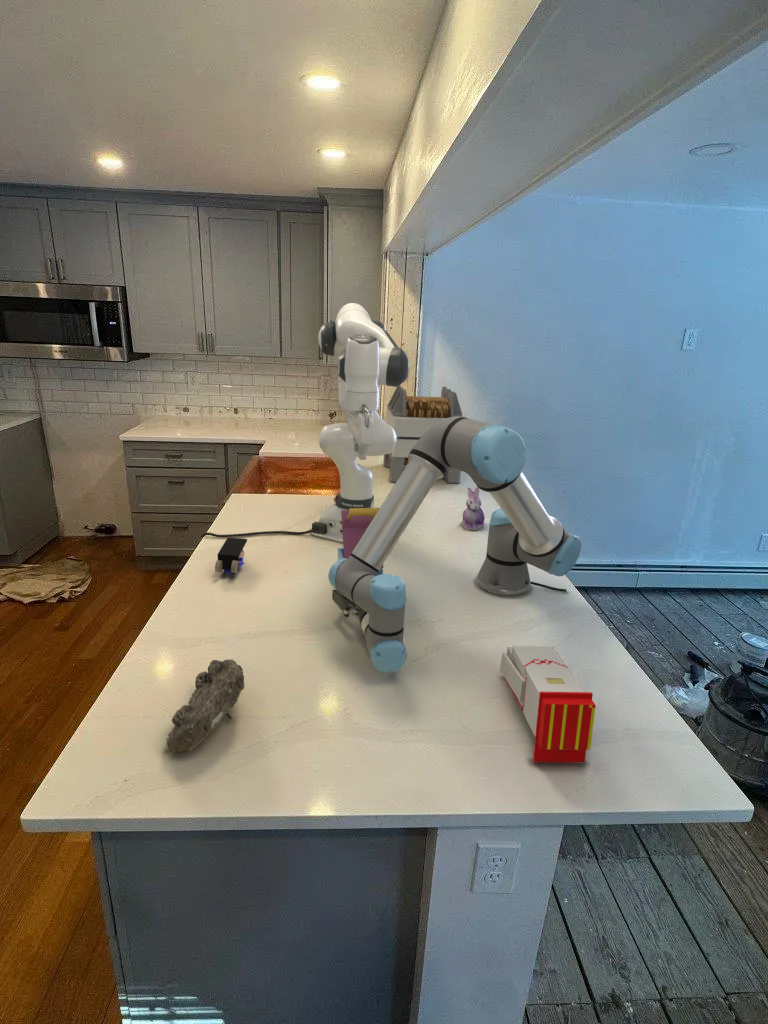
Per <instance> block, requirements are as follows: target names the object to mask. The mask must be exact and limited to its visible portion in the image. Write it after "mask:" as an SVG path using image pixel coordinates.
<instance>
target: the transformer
mask: <svg viewBox="0 0 768 1024" xmlns="http://www.w3.org/2000/svg"><path fill="white" fill-rule="evenodd" d="M440 393H441V394H440V396H415V395H414V396H413V395H412V396H411V395H407V394H408V393H407V390H406V389H404V388H403V387H402V385H399V386H398V387H395V390H394V392H393V394H392V395H391V398H390V400H389V402H388V404H387V405H386V413H385V414H386V415H385V422H386V423H387V424H389V425H390V426H391V427H392V428H393V429H394V431H395V433H396V437H397V442H396V446H395V448H394V450H393V451H392V452H391V453H389V454H385V455H383V466H384V467H388V468H389V475H388V476H389V477H388V478H389V480H390V482H391V483H396V482H397V480H398V479H399V477H400V475H401V474H402V472H403V471H404V469H405V466H407V464H408V463H409V460H408V454H409V453H410V451H411V450H412V448H413V447H414V445H415V444H416V443H417V441H418V440H419V439H420V438H421V436H422V435H423V434H424V433H425V432H426V431H427V430H429V429H430V428H431V427H432V426H434V425H435V424H436V423H438V422H440V421H442V420H444V419H446V418H449V417H455V416H460V417H463V411H462V408H461V405H460V402H459V398H458V395H457V392H455V391H453V390H452V389H451V388H447V386H442V387H441V392H440ZM461 472H462V471H460V470H457V469H454V468H450V469H448V470H447V471H446V473H445V475H444V476H443V478H444V479H445V481H446V482H447V483H449V484H455V483H456V484H459V483H461Z"/></svg>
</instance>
